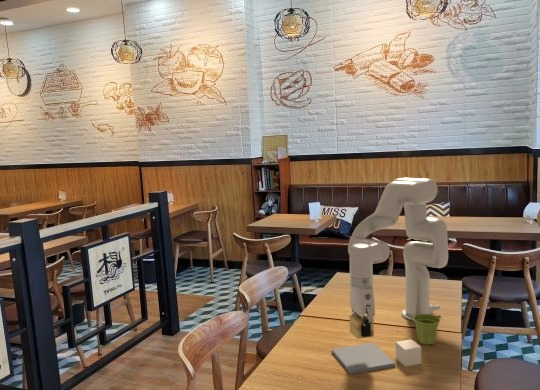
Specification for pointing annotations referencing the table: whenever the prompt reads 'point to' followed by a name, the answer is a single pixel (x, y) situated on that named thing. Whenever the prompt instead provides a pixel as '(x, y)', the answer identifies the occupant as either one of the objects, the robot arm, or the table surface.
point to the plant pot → (426, 328)
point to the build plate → (362, 358)
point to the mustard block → (359, 326)
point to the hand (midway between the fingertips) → (361, 331)
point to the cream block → (408, 352)
